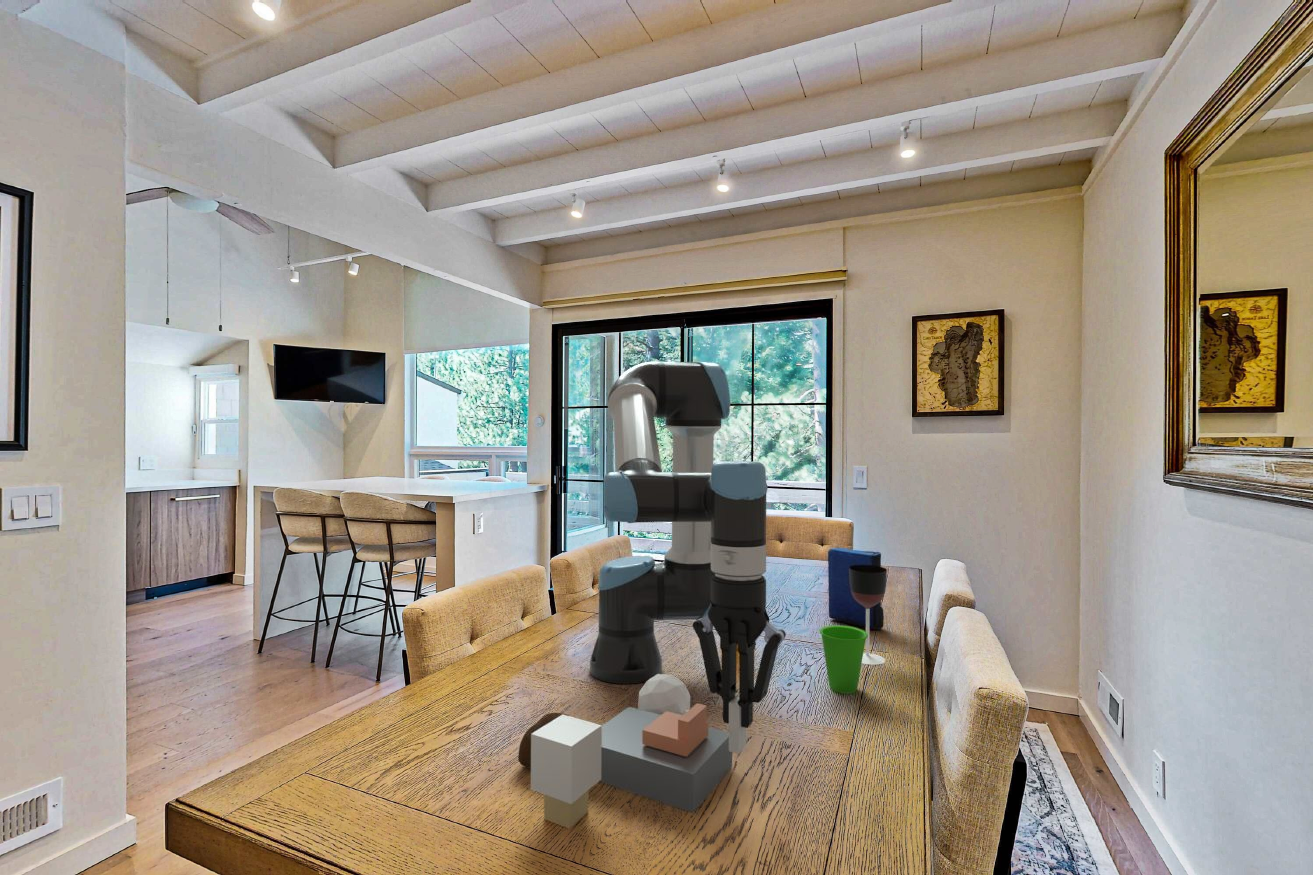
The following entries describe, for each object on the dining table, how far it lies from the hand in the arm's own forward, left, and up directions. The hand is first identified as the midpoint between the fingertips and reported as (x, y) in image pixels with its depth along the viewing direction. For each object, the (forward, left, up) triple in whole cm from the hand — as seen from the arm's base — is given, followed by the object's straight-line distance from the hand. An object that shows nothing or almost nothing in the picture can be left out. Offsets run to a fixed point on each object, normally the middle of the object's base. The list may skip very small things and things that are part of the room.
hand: (737, 747), depth 83 cm
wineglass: (+5, +64, -7) cm, 65 cm away
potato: (-28, -5, -7) cm, 29 cm away
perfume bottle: (-17, +12, -7) cm, 22 cm away
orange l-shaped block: (-10, 0, -1) cm, 10 cm away
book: (-2, +89, -7) cm, 89 cm away
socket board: (-13, 0, -7) cm, 14 cm away
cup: (+4, +44, -7) cm, 45 cm away
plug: (-18, -15, -7) cm, 24 cm away
